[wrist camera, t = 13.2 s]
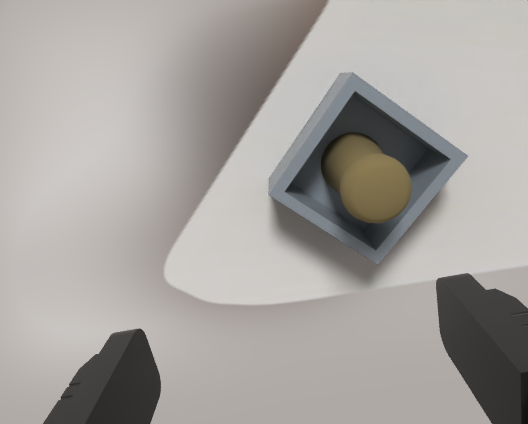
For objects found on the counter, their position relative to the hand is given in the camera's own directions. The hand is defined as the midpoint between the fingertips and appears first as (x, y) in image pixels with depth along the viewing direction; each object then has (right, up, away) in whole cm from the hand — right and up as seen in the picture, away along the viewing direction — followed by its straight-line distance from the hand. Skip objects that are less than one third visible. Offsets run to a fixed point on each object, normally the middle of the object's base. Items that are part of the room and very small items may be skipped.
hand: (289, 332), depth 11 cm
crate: (+8, +8, +29) cm, 31 cm away
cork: (+8, +8, +28) cm, 30 cm away
